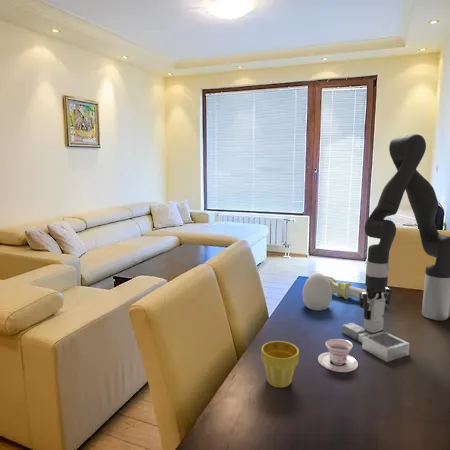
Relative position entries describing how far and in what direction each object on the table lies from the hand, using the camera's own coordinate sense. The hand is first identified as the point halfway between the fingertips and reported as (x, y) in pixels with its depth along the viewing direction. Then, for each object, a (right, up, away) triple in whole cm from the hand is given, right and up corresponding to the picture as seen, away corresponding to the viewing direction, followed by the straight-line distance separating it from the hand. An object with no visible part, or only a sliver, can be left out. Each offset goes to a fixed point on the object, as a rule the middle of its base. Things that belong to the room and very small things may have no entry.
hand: (373, 317), depth 142 cm
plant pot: (-40, -10, -33) cm, 53 cm away
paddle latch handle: (-5, -6, -11) cm, 14 cm away
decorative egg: (-16, -1, +23) cm, 28 cm away
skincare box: (0, -5, +1) cm, 5 cm away
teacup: (-20, -9, -23) cm, 32 cm away
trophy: (+1, 0, +34) cm, 34 cm away
